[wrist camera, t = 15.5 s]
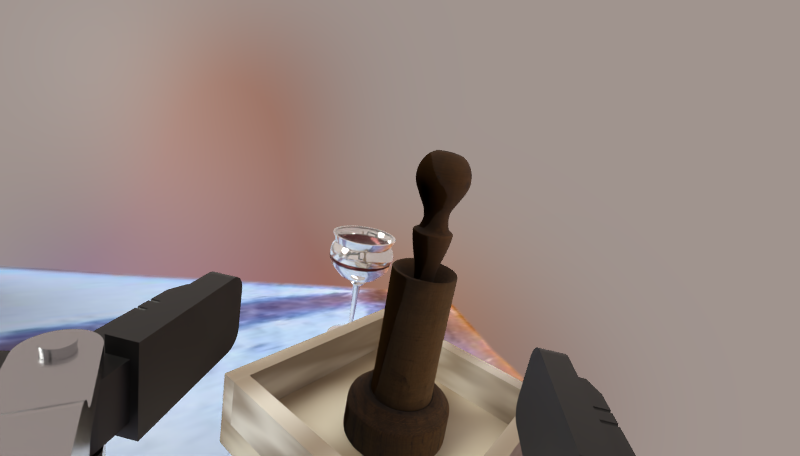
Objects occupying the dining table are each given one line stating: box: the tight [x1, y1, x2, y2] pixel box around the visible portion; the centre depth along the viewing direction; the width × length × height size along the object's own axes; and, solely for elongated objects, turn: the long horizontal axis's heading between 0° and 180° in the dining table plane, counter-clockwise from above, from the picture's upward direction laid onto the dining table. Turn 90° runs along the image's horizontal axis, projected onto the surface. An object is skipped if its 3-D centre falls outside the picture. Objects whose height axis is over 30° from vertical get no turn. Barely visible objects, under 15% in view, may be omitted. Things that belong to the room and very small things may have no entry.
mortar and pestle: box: [343, 150, 472, 456], centre depth 24 cm, size 7×6×18 cm
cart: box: [220, 309, 523, 456], centre depth 27 cm, size 15×15×8 cm
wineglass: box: [327, 226, 396, 332], centre depth 44 cm, size 7×7×12 cm
